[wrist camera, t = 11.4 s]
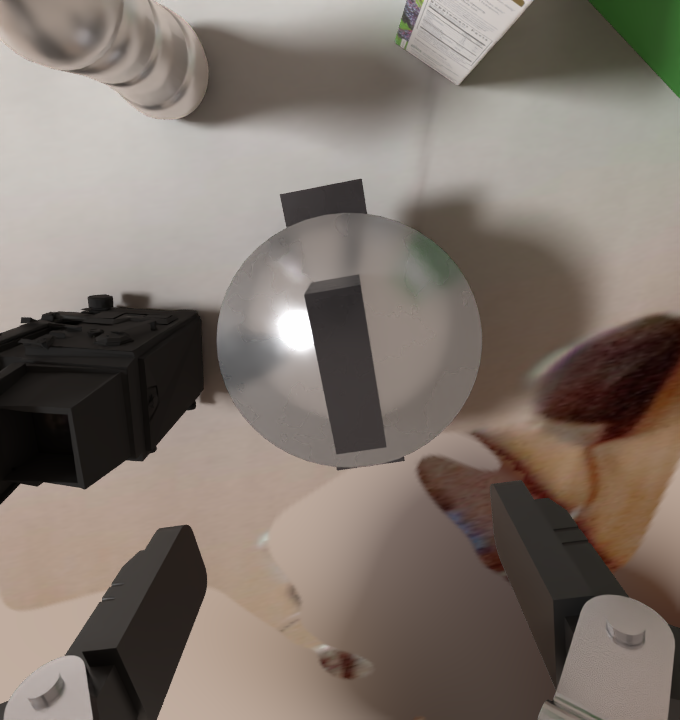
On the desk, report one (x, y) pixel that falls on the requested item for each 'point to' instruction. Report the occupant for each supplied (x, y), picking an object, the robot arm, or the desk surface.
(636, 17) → the hardback book
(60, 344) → the camera
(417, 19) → the syrup box
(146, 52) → the plastic bottle
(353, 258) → the lid
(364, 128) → the desk surface
